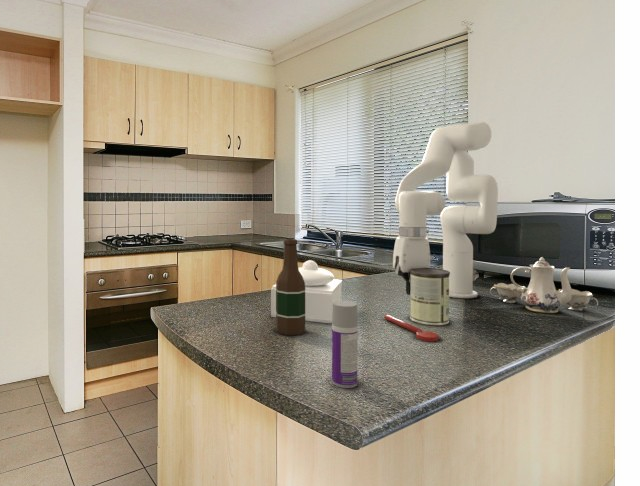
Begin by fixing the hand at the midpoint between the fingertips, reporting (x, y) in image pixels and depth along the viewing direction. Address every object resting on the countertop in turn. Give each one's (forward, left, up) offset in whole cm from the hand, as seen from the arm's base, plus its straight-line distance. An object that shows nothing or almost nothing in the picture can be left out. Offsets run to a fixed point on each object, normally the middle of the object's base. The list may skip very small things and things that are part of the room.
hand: (411, 294), depth 129 cm
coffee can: (+7, +1, -6) cm, 9 cm away
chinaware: (+4, +44, -6) cm, 45 cm away
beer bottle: (+5, -41, -6) cm, 41 cm away
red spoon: (+12, -10, -6) cm, 17 cm away
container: (+37, -43, -6) cm, 57 cm away
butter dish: (-11, -29, -6) cm, 31 cm away
